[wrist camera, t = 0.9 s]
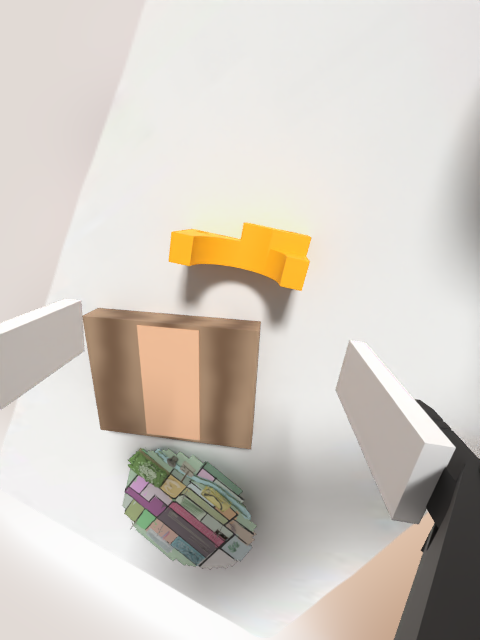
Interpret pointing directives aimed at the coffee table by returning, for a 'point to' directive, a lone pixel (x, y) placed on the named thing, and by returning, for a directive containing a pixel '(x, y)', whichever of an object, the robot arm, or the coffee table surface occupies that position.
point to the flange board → (174, 375)
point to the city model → (187, 509)
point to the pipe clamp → (247, 252)
